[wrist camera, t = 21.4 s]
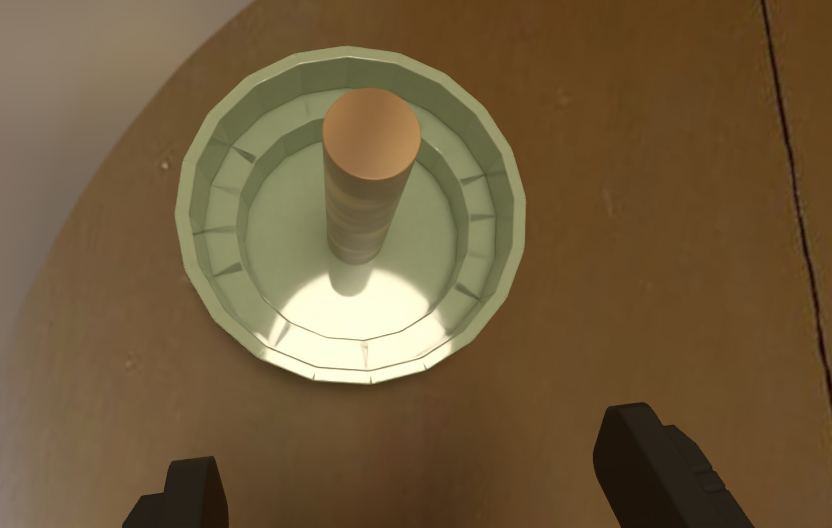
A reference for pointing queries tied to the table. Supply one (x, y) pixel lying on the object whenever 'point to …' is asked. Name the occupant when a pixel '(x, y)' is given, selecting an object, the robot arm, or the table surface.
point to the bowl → (307, 227)
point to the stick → (366, 169)
